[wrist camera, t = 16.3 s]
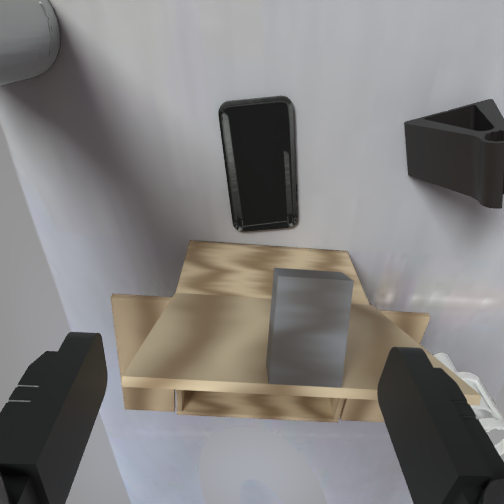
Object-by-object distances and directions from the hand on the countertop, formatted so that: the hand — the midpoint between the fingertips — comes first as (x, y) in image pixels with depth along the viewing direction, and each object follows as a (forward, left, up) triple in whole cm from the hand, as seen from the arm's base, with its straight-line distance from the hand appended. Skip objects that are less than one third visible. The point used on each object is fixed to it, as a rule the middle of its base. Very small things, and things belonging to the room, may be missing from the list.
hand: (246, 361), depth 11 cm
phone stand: (+22, -1, -36) cm, 42 cm away
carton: (+4, -25, -35) cm, 43 cm away
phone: (+2, -6, -36) cm, 36 cm away
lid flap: (+4, -13, -15) cm, 20 cm away
